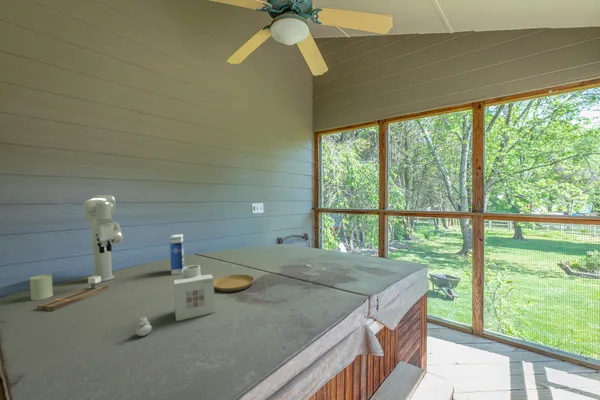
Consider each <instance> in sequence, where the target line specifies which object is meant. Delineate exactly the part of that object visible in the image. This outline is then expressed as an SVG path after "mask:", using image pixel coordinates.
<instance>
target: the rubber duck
mask: <svg viewBox="0 0 600 400" xmlns="http://www.w3.org/2000/svg"><path fill="white" fill-rule="evenodd" d="M137 325H138V326H136V328H135V333H136V335H137V336H139V337H144V336H146V335H148V334H149V333H150V332H151V331H152V328H153V327H152V325H151V324H150V321H148V318H147V317H145V316H143V315H141V316H140V317H139V319H138V321H137Z"/></svg>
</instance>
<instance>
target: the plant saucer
mask: <svg viewBox="0 0 600 400" xmlns="http://www.w3.org/2000/svg"><path fill="white" fill-rule="evenodd" d="M213 280H214V290H217V291H220V292H227V293H228V292H229V293H230V292H238V291H242V290H246V289H247V288H249V287H250V286H252V284H254V283H253V282H254V281H255V278H254V276H252V275H249V274H243V273H242V274H241V273H238V274H230V275H228V274H227V275H224V276H221V277H217V278H215V279H213Z"/></svg>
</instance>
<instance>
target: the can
mask: <svg viewBox="0 0 600 400" xmlns="http://www.w3.org/2000/svg"><path fill="white" fill-rule="evenodd" d="M29 284H30V285H29V286H30V300H31V301H40V300H41V301H42V300H44V299H48V298H51V297H53V296H54V291H53V290H54V289H53V274H52V273H46V274H45V273H43V274H40V275H35V276H34V275H33V276H31V277H30V278H29Z"/></svg>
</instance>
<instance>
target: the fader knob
mask: <svg viewBox="0 0 600 400" xmlns="http://www.w3.org/2000/svg"><path fill="white" fill-rule="evenodd" d="M87 283H88V284H90V287H91V288H96V287H98V285H99V283H102V282H101V276H91V275H90V277H87Z"/></svg>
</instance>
